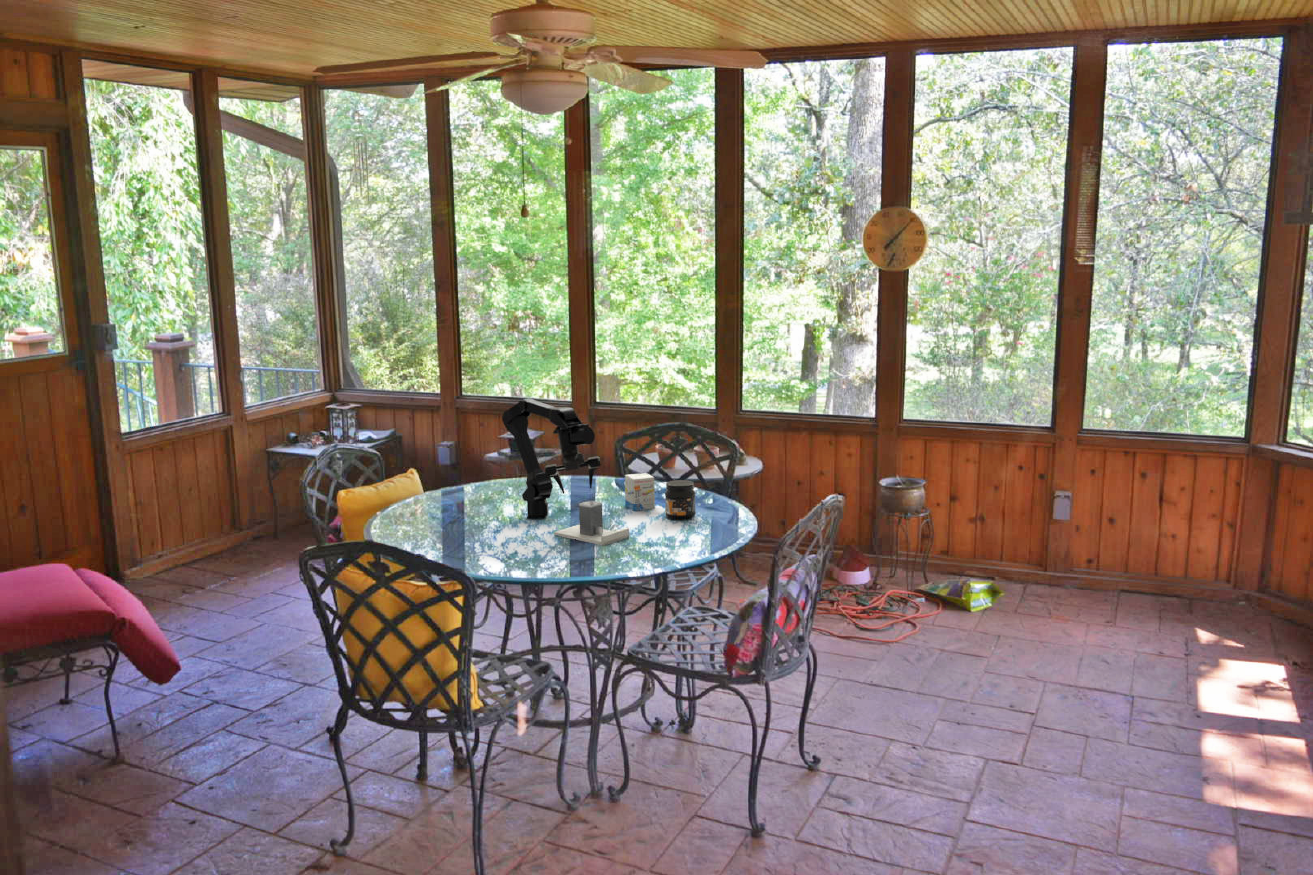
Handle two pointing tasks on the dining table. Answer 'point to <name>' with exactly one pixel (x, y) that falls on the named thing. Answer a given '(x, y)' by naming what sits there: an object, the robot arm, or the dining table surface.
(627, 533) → the tray
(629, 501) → the ink box
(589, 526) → the block
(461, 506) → the dining table surface
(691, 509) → the supplement container
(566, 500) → the dining table surface
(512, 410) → the robot arm
